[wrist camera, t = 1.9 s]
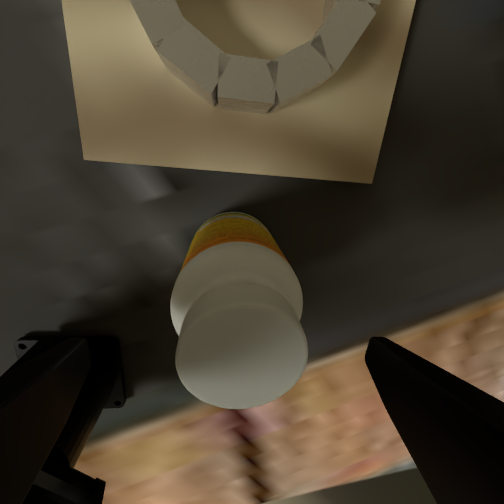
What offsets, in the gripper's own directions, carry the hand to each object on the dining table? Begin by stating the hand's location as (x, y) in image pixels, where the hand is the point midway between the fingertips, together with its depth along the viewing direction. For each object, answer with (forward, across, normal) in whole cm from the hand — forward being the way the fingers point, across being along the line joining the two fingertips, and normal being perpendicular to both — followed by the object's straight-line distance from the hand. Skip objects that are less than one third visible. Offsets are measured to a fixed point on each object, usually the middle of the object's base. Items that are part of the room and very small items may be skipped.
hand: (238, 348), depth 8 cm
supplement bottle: (+9, 0, 0) cm, 9 cm away
